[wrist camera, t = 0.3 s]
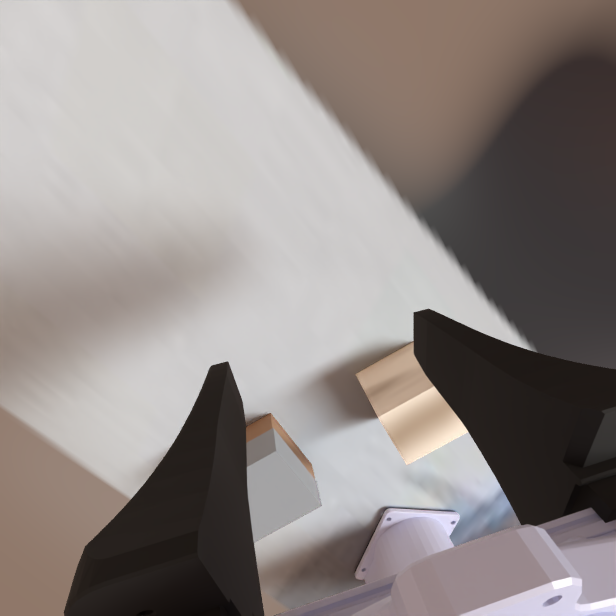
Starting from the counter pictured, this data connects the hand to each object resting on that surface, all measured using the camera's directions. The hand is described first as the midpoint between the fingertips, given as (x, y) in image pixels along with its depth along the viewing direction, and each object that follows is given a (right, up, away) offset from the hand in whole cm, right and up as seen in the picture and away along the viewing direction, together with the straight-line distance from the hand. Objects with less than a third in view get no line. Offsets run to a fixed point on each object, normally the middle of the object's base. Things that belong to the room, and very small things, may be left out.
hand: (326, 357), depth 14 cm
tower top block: (-4, -11, +13) cm, 18 cm away
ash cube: (+6, -4, +14) cm, 16 cm away
